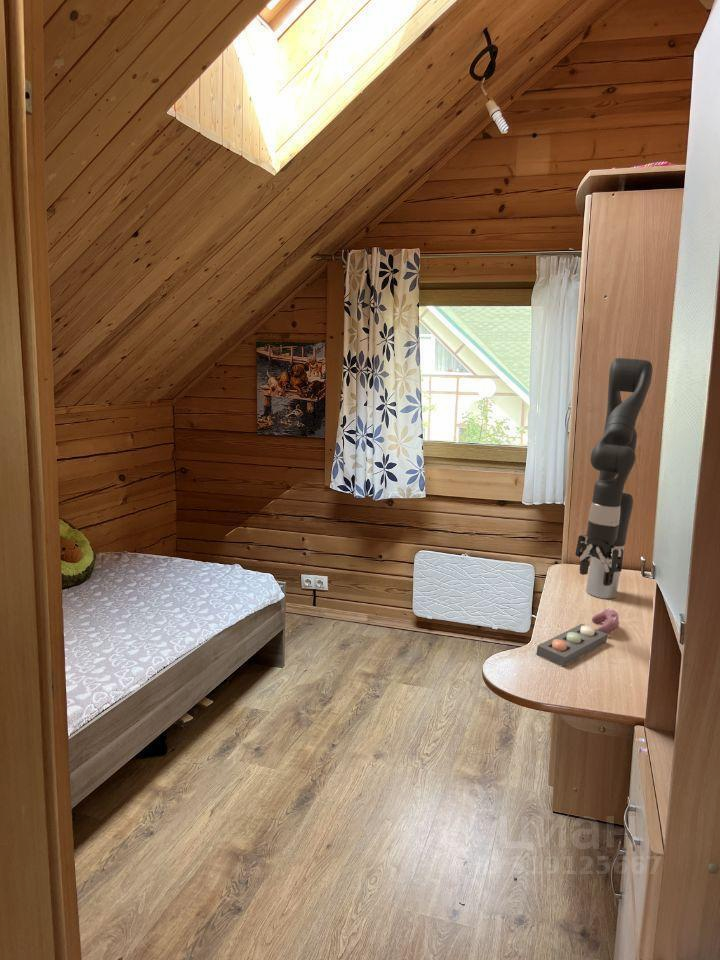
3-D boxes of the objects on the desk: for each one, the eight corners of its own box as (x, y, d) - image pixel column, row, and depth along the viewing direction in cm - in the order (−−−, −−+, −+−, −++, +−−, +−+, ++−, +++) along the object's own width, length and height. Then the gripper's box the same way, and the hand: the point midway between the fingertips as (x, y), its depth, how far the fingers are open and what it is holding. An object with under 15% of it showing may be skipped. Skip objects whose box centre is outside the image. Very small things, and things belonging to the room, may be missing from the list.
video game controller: (608, 643, 186) (624, 623, 184) (594, 634, 186) (610, 614, 184) (603, 628, 196) (618, 609, 194) (590, 619, 196) (604, 600, 194)
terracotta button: (556, 646, 175) (557, 638, 175) (568, 652, 173) (570, 643, 172) (548, 650, 173) (549, 641, 172) (561, 656, 170) (562, 647, 170)
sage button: (570, 639, 180) (571, 631, 179) (582, 644, 178) (584, 636, 177) (563, 643, 178) (564, 634, 177) (575, 648, 175) (577, 639, 175)
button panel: (580, 632, 188) (581, 623, 187) (606, 642, 183) (607, 634, 182) (536, 654, 173) (537, 645, 172) (563, 666, 168) (564, 657, 167)
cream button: (583, 632, 185) (585, 624, 184) (596, 637, 182) (597, 629, 182) (576, 636, 182) (578, 627, 182) (589, 641, 180) (590, 632, 179)
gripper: (573, 514, 183) (565, 571, 186) (613, 528, 170) (604, 590, 174) (594, 513, 186) (586, 569, 189) (635, 527, 174) (626, 587, 177)
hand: (595, 579), depth 181 cm, fingers open, 8 cm apart
